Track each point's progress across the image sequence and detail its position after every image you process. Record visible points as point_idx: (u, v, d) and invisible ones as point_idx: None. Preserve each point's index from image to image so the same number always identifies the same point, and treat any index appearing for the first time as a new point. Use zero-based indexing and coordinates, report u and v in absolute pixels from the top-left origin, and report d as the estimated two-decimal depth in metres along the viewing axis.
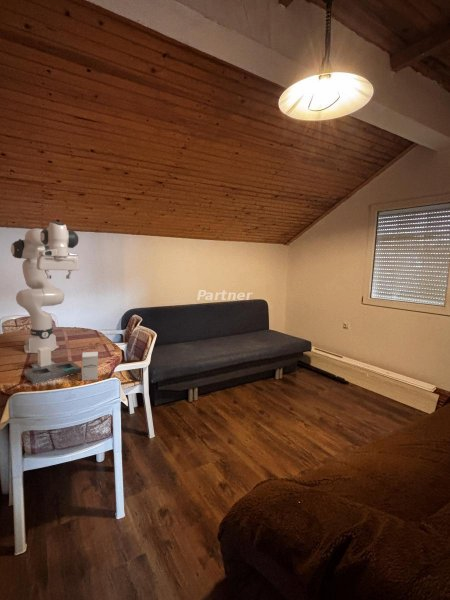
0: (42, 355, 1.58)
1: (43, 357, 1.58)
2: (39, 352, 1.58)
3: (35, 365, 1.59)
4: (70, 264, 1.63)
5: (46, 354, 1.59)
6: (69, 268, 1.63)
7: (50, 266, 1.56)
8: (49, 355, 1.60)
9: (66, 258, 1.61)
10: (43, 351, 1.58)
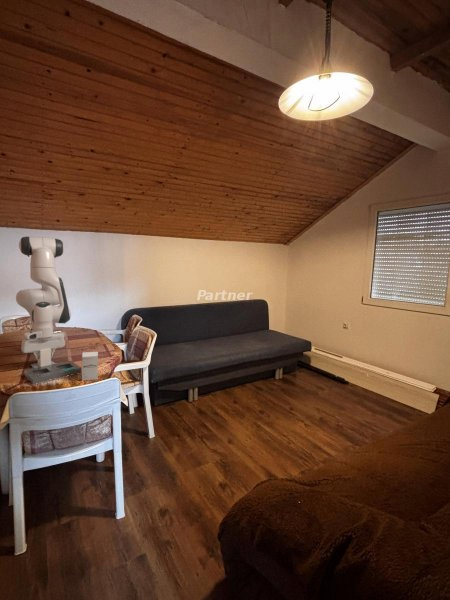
0: (42, 355, 1.58)
1: (43, 357, 1.58)
2: (39, 352, 1.58)
3: (35, 365, 1.59)
4: (56, 343, 1.62)
5: (46, 354, 1.59)
6: (55, 346, 1.62)
7: (35, 347, 1.55)
8: (49, 355, 1.60)
9: (51, 337, 1.61)
10: (43, 351, 1.58)
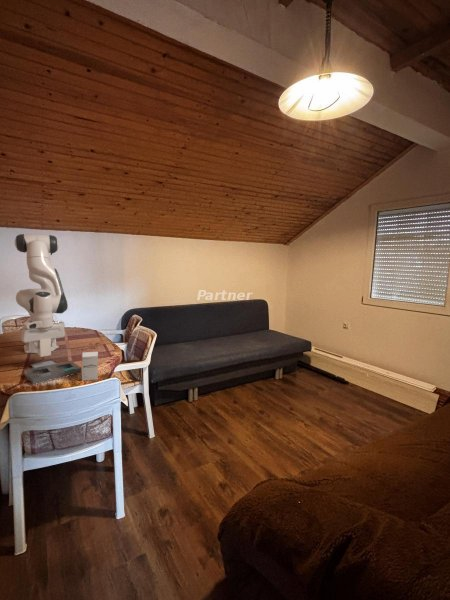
0: (42, 345, 1.57)
1: (43, 347, 1.58)
2: (39, 342, 1.57)
3: (35, 365, 1.59)
4: (55, 333, 1.62)
5: (46, 344, 1.58)
6: (54, 336, 1.62)
7: (34, 337, 1.55)
8: (49, 345, 1.60)
9: (51, 327, 1.60)
10: (43, 341, 1.57)
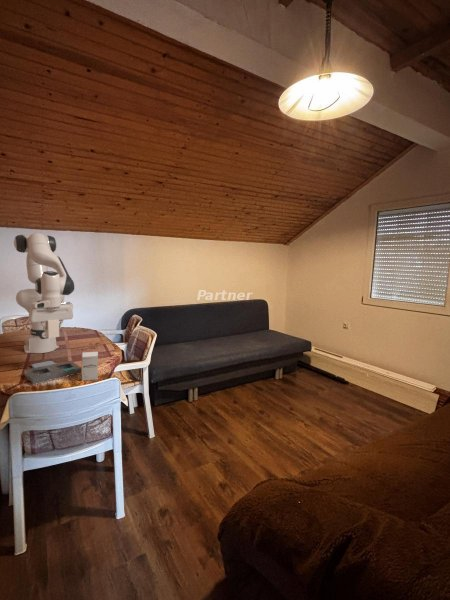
0: (50, 326, 1.53)
1: (51, 328, 1.53)
2: (47, 323, 1.53)
3: (35, 365, 1.59)
4: (64, 314, 1.58)
5: (54, 325, 1.54)
6: (63, 318, 1.57)
7: (42, 317, 1.50)
8: (57, 326, 1.55)
9: (59, 308, 1.56)
10: (51, 321, 1.53)
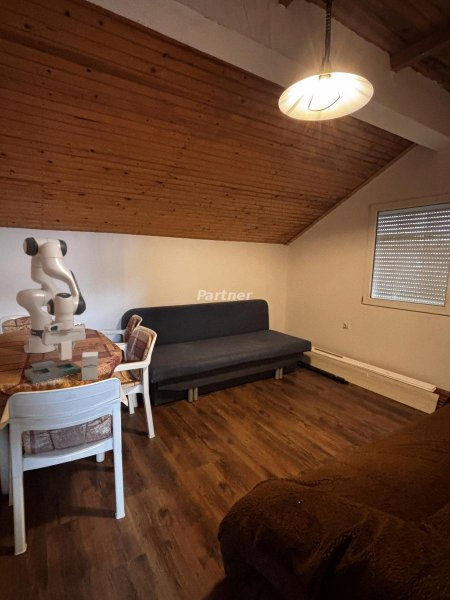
0: (63, 348, 1.52)
1: (64, 350, 1.52)
2: (60, 345, 1.52)
3: (35, 365, 1.59)
4: (76, 335, 1.56)
5: (67, 347, 1.53)
6: (75, 339, 1.56)
7: (56, 340, 1.49)
8: (70, 348, 1.54)
9: (72, 329, 1.54)
10: (64, 343, 1.52)
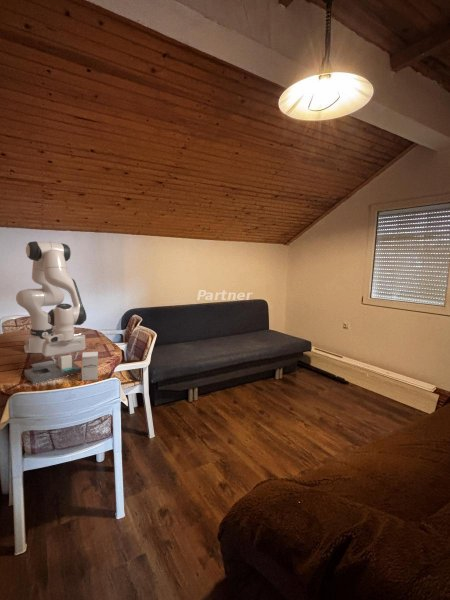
0: (63, 363, 1.53)
1: (64, 365, 1.53)
2: (60, 359, 1.53)
3: (35, 365, 1.59)
4: (76, 346, 1.57)
5: (67, 361, 1.54)
6: (75, 349, 1.57)
7: (56, 351, 1.50)
8: (70, 362, 1.55)
9: (72, 340, 1.55)
10: (64, 358, 1.53)
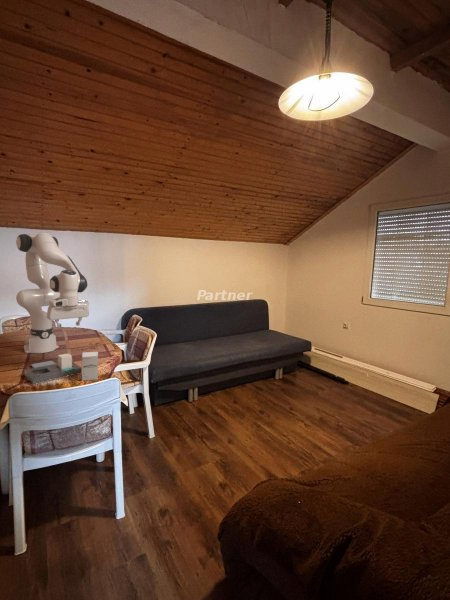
0: (63, 363, 1.53)
1: (64, 365, 1.53)
2: (60, 359, 1.53)
3: (35, 365, 1.59)
4: (80, 312, 1.62)
5: (67, 361, 1.54)
6: (79, 315, 1.62)
7: (60, 315, 1.55)
8: (70, 362, 1.55)
9: (76, 306, 1.60)
10: (64, 358, 1.53)
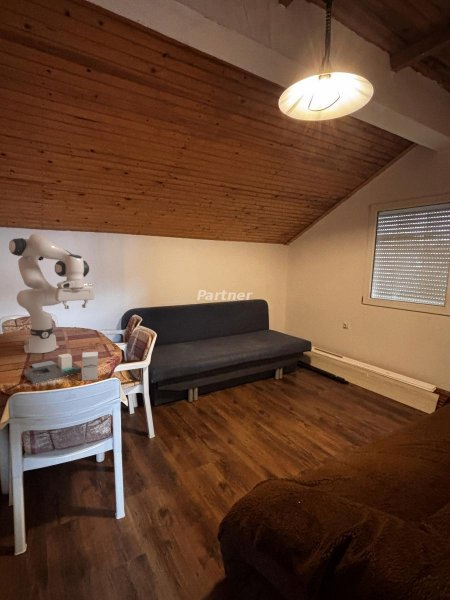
0: (63, 363, 1.53)
1: (64, 365, 1.53)
2: (60, 359, 1.53)
3: (35, 365, 1.59)
4: (86, 294, 1.70)
5: (67, 361, 1.54)
6: (85, 298, 1.70)
7: (67, 297, 1.63)
8: (70, 362, 1.55)
9: (82, 289, 1.68)
10: (64, 358, 1.53)
